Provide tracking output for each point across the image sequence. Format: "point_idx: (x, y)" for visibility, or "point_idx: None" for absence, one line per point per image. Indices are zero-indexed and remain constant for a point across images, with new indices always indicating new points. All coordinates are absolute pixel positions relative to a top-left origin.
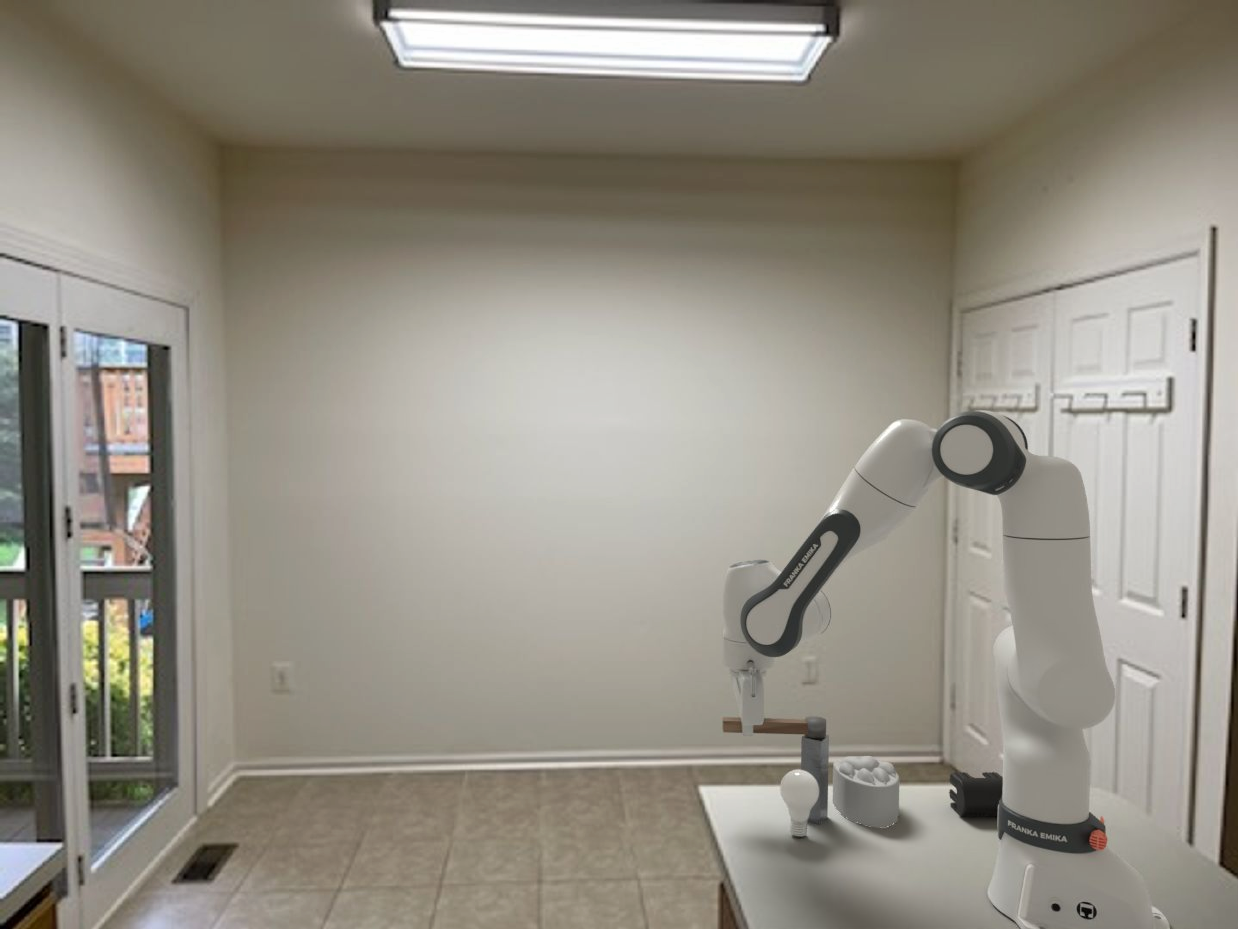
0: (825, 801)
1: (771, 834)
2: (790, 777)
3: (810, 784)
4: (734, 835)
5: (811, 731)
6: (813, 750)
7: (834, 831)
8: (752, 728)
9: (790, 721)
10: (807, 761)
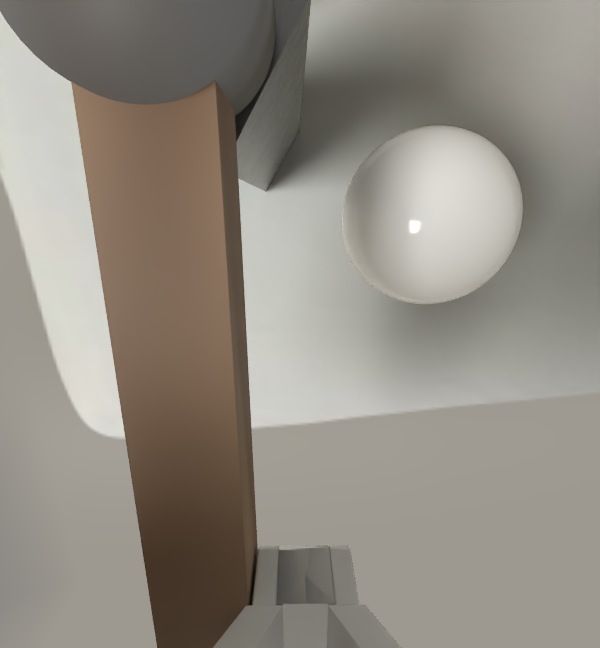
0: None
1: (370, 292)
2: (479, 275)
3: (514, 176)
4: (379, 388)
5: (255, 65)
6: (278, 92)
7: (343, 87)
8: (356, 590)
9: (189, 284)
10: (261, 145)
